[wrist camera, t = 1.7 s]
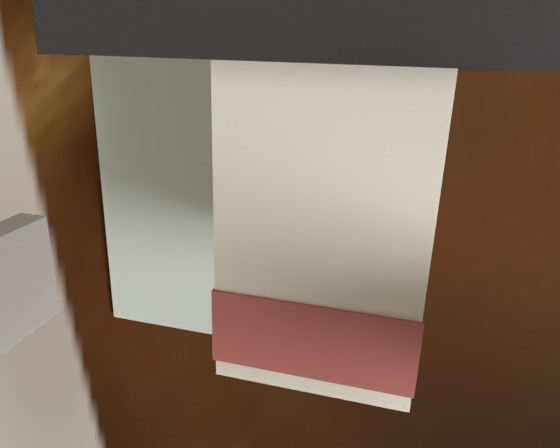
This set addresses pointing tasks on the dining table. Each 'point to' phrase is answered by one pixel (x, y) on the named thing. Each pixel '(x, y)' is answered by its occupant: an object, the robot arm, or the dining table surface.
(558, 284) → the dining table surface
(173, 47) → the dispenser
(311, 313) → the pink-banded white block
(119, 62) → the pad
